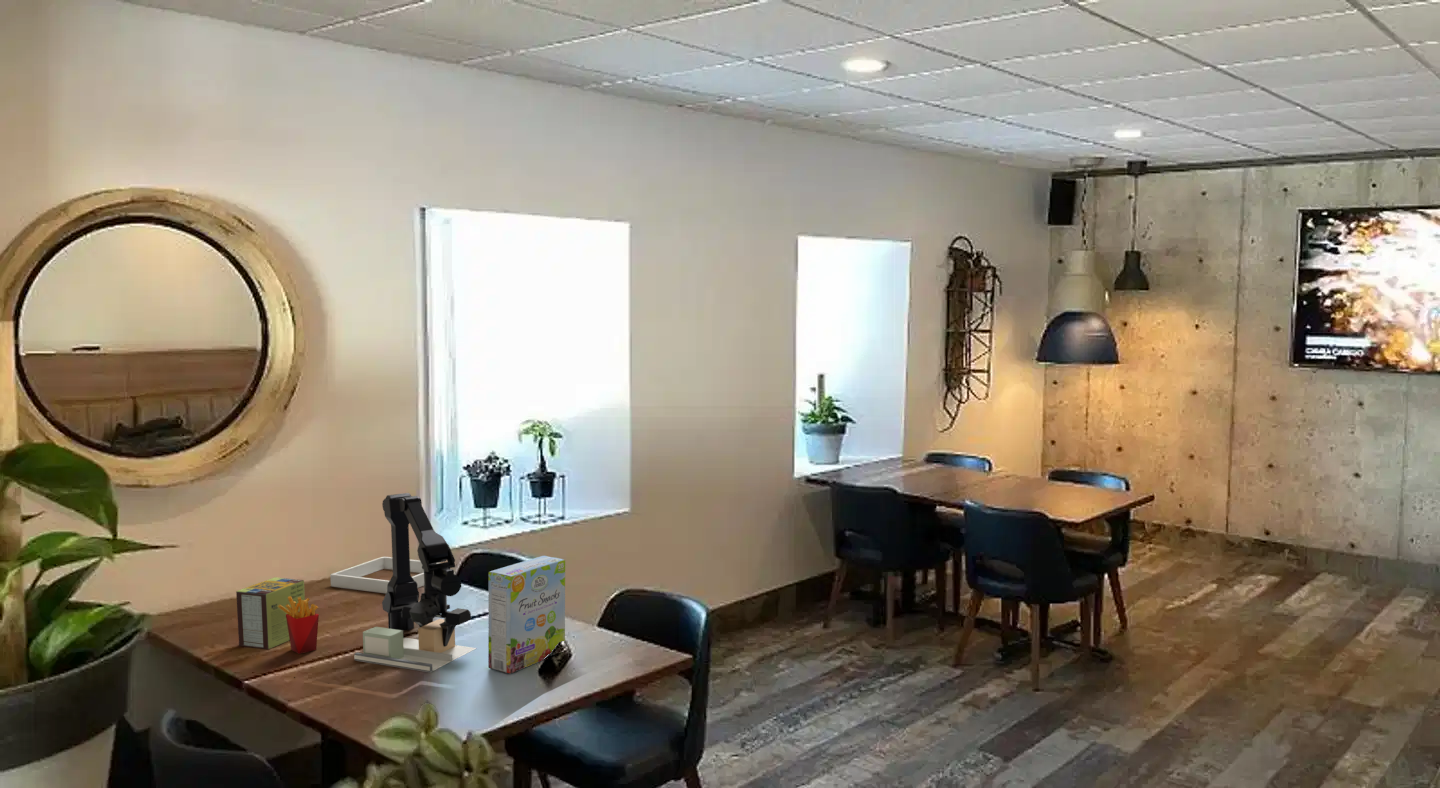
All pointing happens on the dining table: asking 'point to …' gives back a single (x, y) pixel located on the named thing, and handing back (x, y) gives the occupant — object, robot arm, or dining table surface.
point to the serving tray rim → (354, 578)
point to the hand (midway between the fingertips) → (436, 644)
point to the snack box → (525, 612)
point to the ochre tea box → (434, 637)
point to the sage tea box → (383, 642)
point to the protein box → (266, 611)
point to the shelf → (416, 657)
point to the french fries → (302, 625)
